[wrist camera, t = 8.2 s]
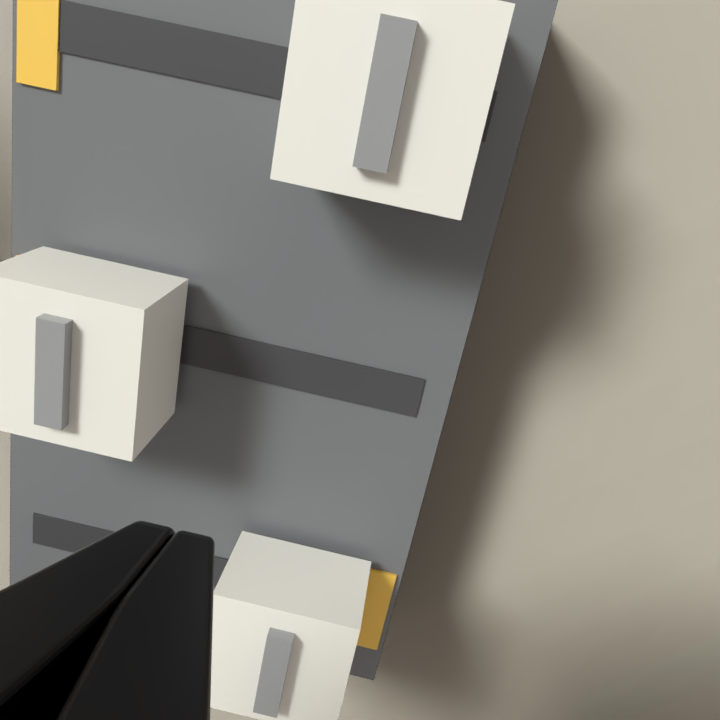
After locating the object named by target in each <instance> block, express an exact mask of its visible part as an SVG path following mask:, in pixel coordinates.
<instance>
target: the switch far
mask: <svg viewBox="0 0 720 720" xmlns="http://www.w3.org/2000/svg"><path fill="white" fill-rule="evenodd" d="M370 567H371V561H367V560H363V559H359V558H354V557H350V556H346V555H342V554H338V553H333V552H329V551H325V550H321V549H317V548H312V547H308V546H304V545H300V544H296V543H291V542H287V541H283V540H279V539H275V538H270V537H266V536H262V535H258V534H254V533H249V532H245V531H242V532H241V534H240V536H239V539H238V541H237V543H236V545H235V547H234V549H233V551H232V553H231V556H230V558H229V560H228V562H227V564H226V566H225V568H224V570H223V573H222V575H221V577H220V579H219V581H218V583H217V585H216V588H215V590H214V593H213V629H212V666H211V702H210V708H214V709H219V710H223V711H227V712H231V713H235V714H239V715H243V716H247V717H251V718H255V719H259V720H338V717H339V713H340V709H341V705H342V701H343V697H344V693H345V689H346V685H347V681H348V677H349V673H350V669H351V665H352V661H353V657H354V653H355V649H356V645H357V641H358V637H359V633H360V629H361V623H362V617H363V610H364V604H365V598H366V592H367V586H368V579H369V573H370Z"/></svg>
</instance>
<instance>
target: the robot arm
mask: <svg viewBox="0 0 720 720" xmlns="http://www.w3.org/2000/svg"><path fill="white" fill-rule="evenodd" d="M214 556H215V542H214V540H213V539H212V538H211V537H209V536H205V535H201V534H197V533H192V532H188V531H183V530H181V531H178V532H176V533H175V531H174V530H173V529H172V528H170V527H167V526H163V525H159V524H154V523H150V522H146V521H136V522H133V523H131V524H129V525H127V526H125V527H123V528H121V529H119V530H117V531H115V532H113V533H111V534H110V535H108V536H106V537H104V538H102V539H100V540H98V541H96V542H94V543H92V544H90V545H88V546H86V547H84V548H82V549H80V550H78V551H77V552H75V553H73V554H71V555H69V556H67V557H65V558H63V559H61V560H59V561H57V562H55V563H53V564H51V565H49V566H47V567H45V568H44V569H42V570H40V571H38V572H36V573H34V574H32V575H30V576H28V577H26V578H24V579H22V580H20V581H18V582H16V583H14V584H12V585H11V586H9V587H7V588H5V589H3V590H1V591H0V720H210V702H211V666H212V629H213V593H214Z"/></svg>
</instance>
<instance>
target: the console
mask: <svg viewBox="0 0 720 720" xmlns="http://www.w3.org/2000/svg"><path fill="white" fill-rule="evenodd" d="M500 1H505V2H510V3H515V7H514V11H513V15H512V19H511V23H510V27H509V31H508V35H507V39H506V43H505V47H504V51H503V55H502V59H501V63H500V67H499V71H498V75H497V79H496V83H495V87H494V91H493V95H492V99H491V103H490V107H489V111H488V115H487V119H486V123H485V127H484V131H483V135H482V139H481V143H480V147H479V151H478V155H477V159H476V163H475V167H474V171H473V175H472V179H471V183H470V187H469V191H468V195H467V199H466V203H465V207H464V211H463V215H462V219H461V220H456V219H451V218H447V217H442V216H438V215H433V214H428V213H424V212H419V211H415V210H410V209H406V208H401V207H396V206H392V205H387V204H383V203H378V202H373V201H369V200H364V199H360V198H355V197H351V196H346V195H341V194H337V193H332V192H328V191H323V190H318V189H314V188H309V187H305V186H300V185H296V184H291V183H286V182H282V181H277V180H273V179H270V175H271V168H272V161H273V154H274V147H275V140H276V133H277V126H278V119H279V112H280V105H281V98H282V91H283V84H284V77H285V70H286V63H287V56H288V49H289V42H290V35H291V28H292V21H293V14H294V7H295V0H13V73H12V257H15V256H18V255H21V254H23V253H26V252H29V251H31V250H34V249H37V248H40V247H42V246H45V247H49V248H53V249H58V250H62V251H67V252H71V253H76V254H80V255H85V256H89V257H94V258H98V259H102V260H107V261H111V262H116V263H120V264H125V265H129V266H134V267H138V268H143V269H147V270H151V271H156V272H160V273H165V274H169V275H174V276H178V277H183V278H187V279H189V280H188V289H187V299H186V308H185V318H184V327H183V337H182V346H181V356H180V365H179V375H178V384H177V394H176V403H175V413H174V414H173V415H172V416H171V417H170V418H169V420H168V421H167V422H166V423H165V424H164V425H163V427H162V428H161V429H160V430H159V431H158V432H157V433H156V435H155V436H154V437H153V438H152V439H151V440H150V442H149V443H148V444H147V445H146V446H145V447H144V449H143V450H142V451H141V452H140V453H139V454H138V456H137V457H136V458H135V459H134V460H133V461H132V462H131V461H126V460H122V459H118V458H114V457H110V456H105V455H101V454H97V453H93V452H88V451H84V450H80V449H76V448H71V447H67V446H63V445H59V444H54V443H50V442H46V441H42V440H37V439H33V438H29V437H25V436H20V435H16V434H12V433H11V458H10V586H11V585H12V584H14V583H16V582H18V581H20V580H22V579H24V578H26V577H28V576H30V575H32V574H34V573H36V572H38V571H40V570H42V569H44V568H45V567H47V566H49V565H51V564H53V563H55V562H57V561H59V560H61V559H63V558H65V557H67V556H69V555H71V554H73V553H75V552H77V551H78V550H80V549H82V548H84V547H86V546H88V545H90V544H92V543H94V542H96V541H98V540H100V539H102V538H104V537H106V536H108V535H110V534H111V533H113V532H115V531H117V530H119V529H121V528H123V527H125V526H127V525H129V524H131V523H133V522H136V521H146V522H150V523H154V524H159V525H163V526H167V527H170V528H172V529H173V530H174V531H175V533H176V532H178V531H181V530H183V531H188V532H192V533H197V534H201V535H205V536H209V537H211V538H212V539H213V540H214V542H215V556H214V590H215V588H216V585H217V583H218V581H219V579H220V577H221V575H222V573H223V570H224V568H225V566H226V564H227V562H228V560H229V558H230V556H231V553H232V551H233V549H234V547H235V545H236V543H237V541H238V539H239V536H240V534H241V532H242V531H245V532H249V533H254V534H258V535H262V536H266V537H270V538H275V539H279V540H283V541H287V542H291V543H296V544H300V545H304V546H308V547H312V548H317V549H321V550H325V551H329V552H333V553H338V554H342V555H346V556H350V557H354V558H359V559H363V560H367V561H371V567H370V573H369V579H368V586H367V592H366V598H365V604H364V610H363V617H362V623H361V629H360V633H359V637H358V641H357V645H356V649H355V653H354V657H353V661H352V665H351V669H350V673H349V674H351V675H355V676H359V677H363V678H367V679H371V680H374V678H375V674H376V670H377V667H378V663H379V659H380V656H381V652H382V648H383V645H384V641H385V637H386V634H387V630H388V626H389V622H390V619H391V615H392V611H393V608H394V604H395V600H396V597H397V593H398V589H399V586H400V582H401V578H402V575H403V571H404V567H405V563H406V560H407V556H408V552H409V549H410V545H411V541H412V538H413V534H414V530H415V527H416V523H417V519H418V515H419V512H420V508H421V504H422V501H423V497H424V493H425V490H426V486H427V482H428V479H429V475H430V471H431V468H432V464H433V460H434V456H435V453H436V449H437V445H438V442H439V438H440V434H441V431H442V427H443V423H444V420H445V416H446V412H447V408H448V405H449V401H450V397H451V394H452V390H453V386H454V383H455V379H456V375H457V372H458V368H459V364H460V361H461V357H462V353H463V349H464V346H465V342H466V338H467V335H468V331H469V327H470V324H471V320H472V316H473V313H474V309H475V305H476V301H477V298H478V294H479V290H480V287H481V283H482V279H483V276H484V272H485V268H486V265H487V261H488V257H489V253H490V250H491V246H492V242H493V239H494V235H495V231H496V228H497V224H498V220H499V217H500V213H501V209H502V206H503V202H504V198H505V194H506V191H507V187H508V183H509V180H510V176H511V172H512V169H513V165H514V161H515V158H516V154H517V150H518V146H519V143H520V139H521V135H522V132H523V128H524V124H525V121H526V117H527V113H528V110H529V106H530V102H531V99H532V95H533V91H534V87H535V84H536V80H537V76H538V73H539V69H540V65H541V62H542V58H543V54H544V51H545V47H546V43H547V39H548V36H549V32H550V28H551V25H552V21H553V17H554V14H555V10H556V6H557V3H558V0H500Z"/></svg>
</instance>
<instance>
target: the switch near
mask: <svg viewBox="0 0 720 720" xmlns="http://www.w3.org/2000/svg"><path fill="white" fill-rule="evenodd" d="M514 7H515V3H510V2H505V1H500V0H295V7H294V14H293V21H292V28H291V35H290V42H289V49H288V56H287V63H286V70H285V77H284V84H283V91H282V98H281V105H280V112H279V119H278V126H277V133H276V140H275V147H274V154H273V161H272V168H271V175H270V179H273V180H277V181H282V182H286V183H291V184H296V185H300V186H305V187H309V188H314V189H318V190H323V191H328V192H332V193H337V194H341V195H346V196H351V197H355V198H360V199H364V200H369V201H373V202H378V203H383V204H387V205H392V206H396V207H401V208H406V209H410V210H415V211H419V212H424V213H428V214H433V215H438V216H442V217H447V218H451V219H456V220H461V219H462V215H463V211H464V207H465V203H466V199H467V195H468V191H469V187H470V183H471V179H472V175H473V171H474V167H475V163H476V159H477V155H478V151H479V147H480V143H481V139H482V135H483V131H484V127H485V123H486V119H487V115H488V111H489V107H490V103H491V99H492V95H493V91H494V87H495V83H496V79H497V75H498V71H499V67H500V63H501V59H502V55H503V51H504V47H505V43H506V39H507V35H508V31H509V27H510V23H511V19H512V15H513V11H514Z"/></svg>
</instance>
